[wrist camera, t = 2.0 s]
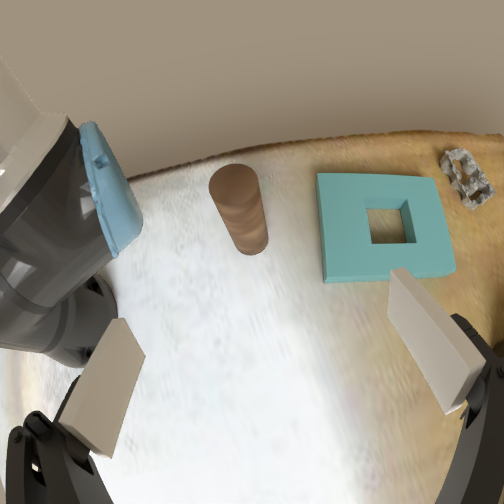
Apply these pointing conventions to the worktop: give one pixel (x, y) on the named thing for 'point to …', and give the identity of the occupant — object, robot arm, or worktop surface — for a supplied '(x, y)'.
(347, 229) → the teal square-hole block
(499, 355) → the supplement bottle
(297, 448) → the worktop surface
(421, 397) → the worktop surface
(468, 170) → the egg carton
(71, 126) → the robot arm
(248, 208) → the walnut pin
